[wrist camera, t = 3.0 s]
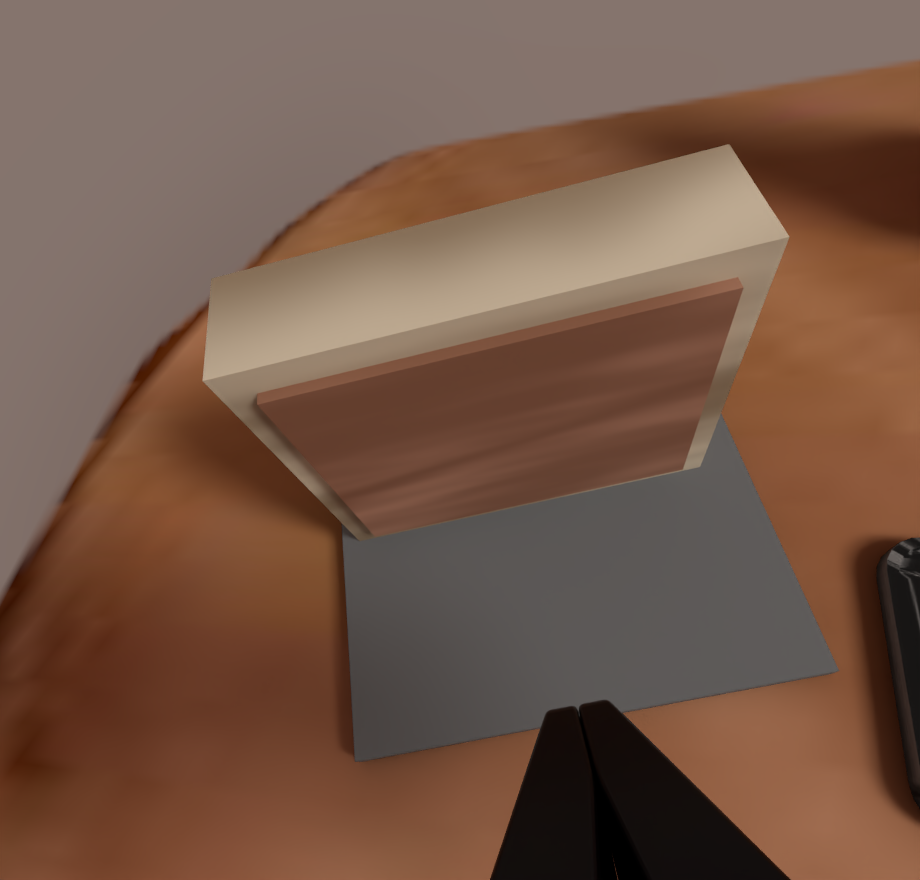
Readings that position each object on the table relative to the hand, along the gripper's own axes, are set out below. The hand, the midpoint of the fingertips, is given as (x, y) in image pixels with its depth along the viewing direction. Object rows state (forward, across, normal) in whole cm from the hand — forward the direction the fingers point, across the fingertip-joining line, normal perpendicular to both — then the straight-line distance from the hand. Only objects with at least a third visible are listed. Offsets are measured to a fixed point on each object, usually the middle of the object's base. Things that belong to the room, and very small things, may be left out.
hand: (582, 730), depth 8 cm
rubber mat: (+16, 0, -1) cm, 16 cm away
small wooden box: (+14, 0, +1) cm, 14 cm away
